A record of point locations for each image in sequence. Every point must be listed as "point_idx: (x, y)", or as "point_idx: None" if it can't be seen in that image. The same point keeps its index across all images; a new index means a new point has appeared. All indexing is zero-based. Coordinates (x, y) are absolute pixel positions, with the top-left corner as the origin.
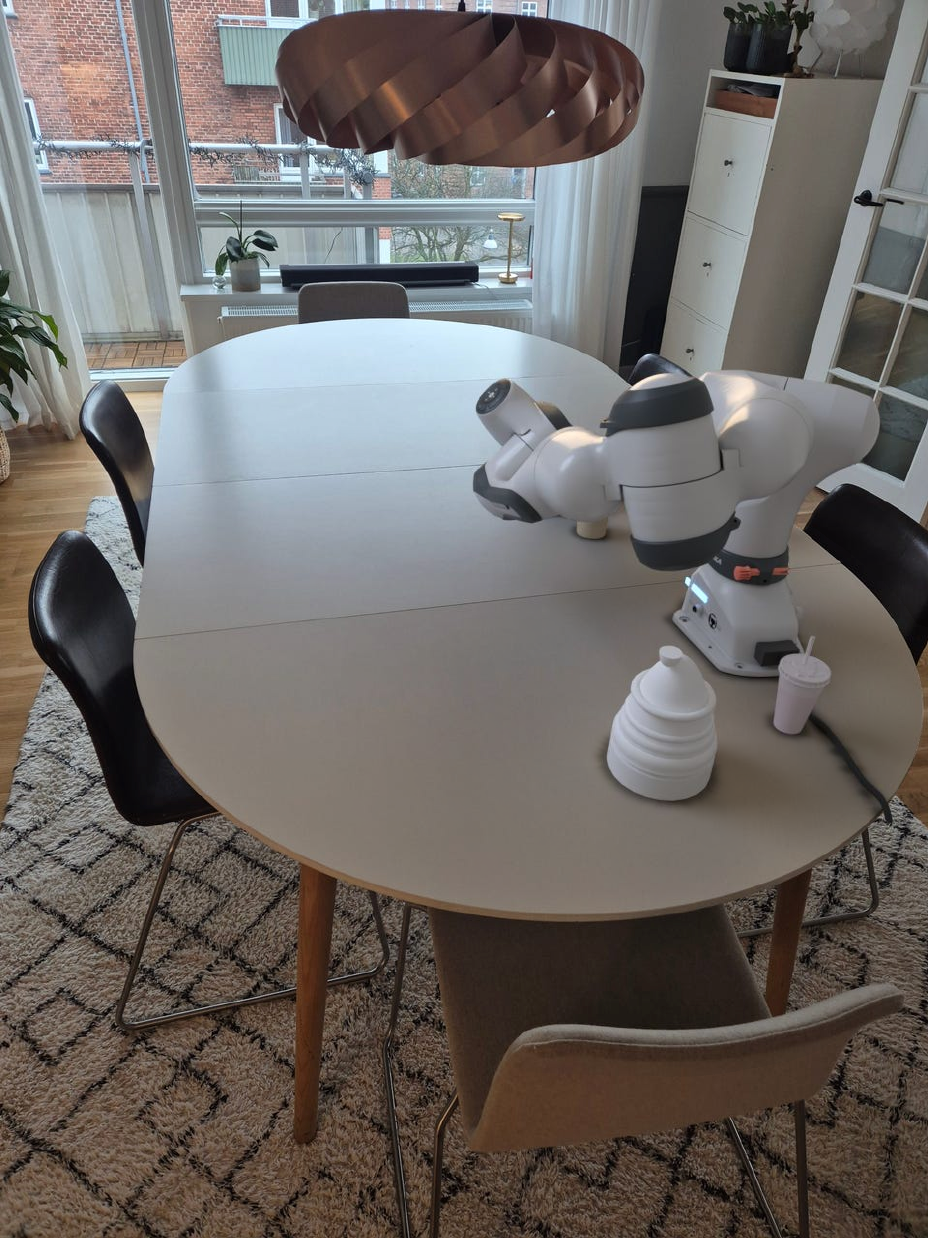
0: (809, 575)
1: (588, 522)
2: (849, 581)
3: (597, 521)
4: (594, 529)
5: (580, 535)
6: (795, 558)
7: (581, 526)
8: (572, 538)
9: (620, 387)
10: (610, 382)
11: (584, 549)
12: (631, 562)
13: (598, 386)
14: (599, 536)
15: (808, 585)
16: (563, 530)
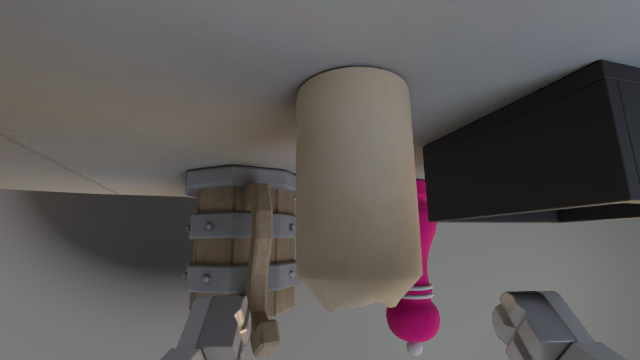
0: (76, 185)
1: (324, 144)
2: (65, 191)
3: (299, 161)
4: (304, 123)
5: (356, 67)
6: (134, 189)
7: (356, 110)
8: (363, 34)
9: None
10: None
11: (232, 19)
12: (86, 85)
13: None
14: (297, 102)
15: (36, 181)
16: (451, 43)
